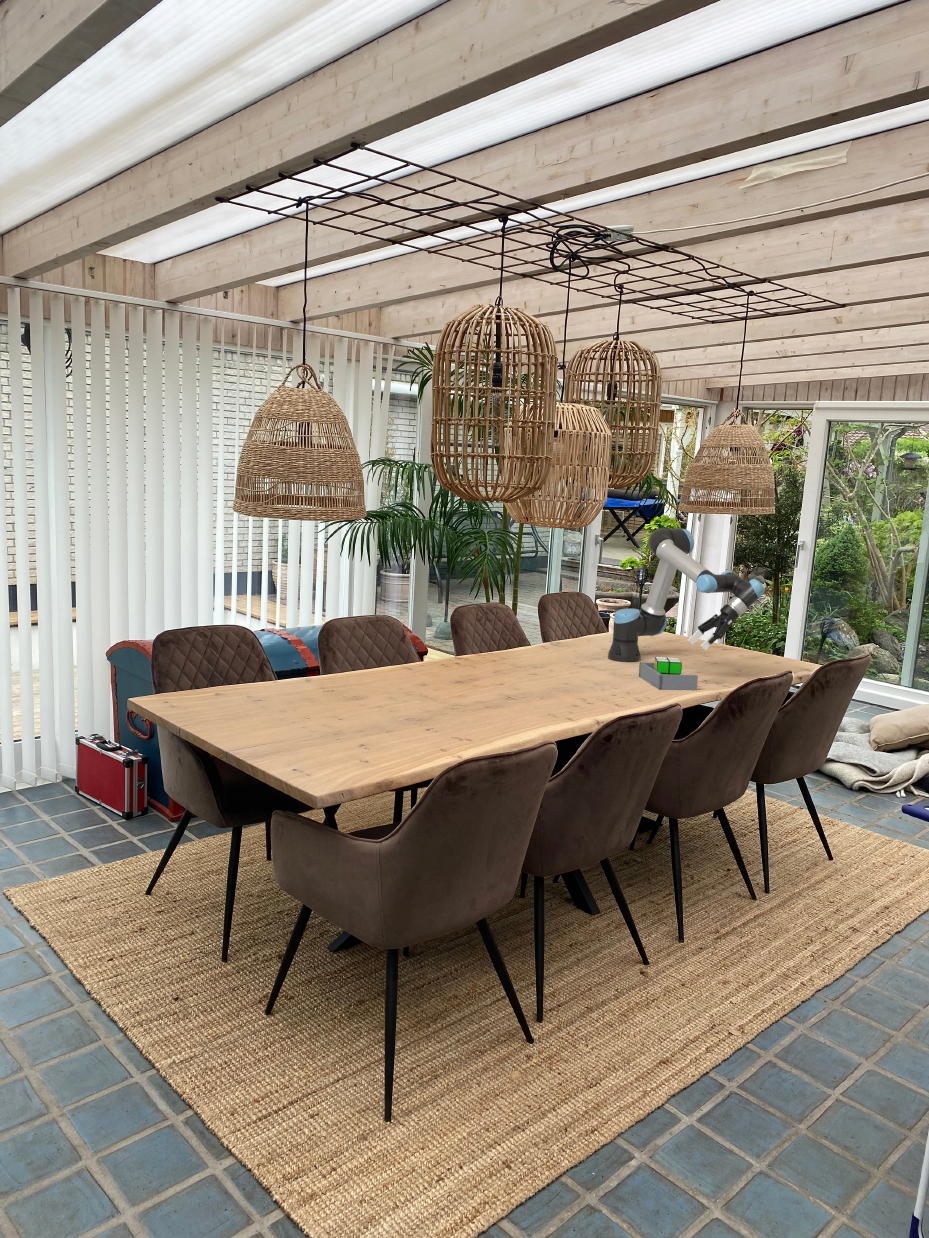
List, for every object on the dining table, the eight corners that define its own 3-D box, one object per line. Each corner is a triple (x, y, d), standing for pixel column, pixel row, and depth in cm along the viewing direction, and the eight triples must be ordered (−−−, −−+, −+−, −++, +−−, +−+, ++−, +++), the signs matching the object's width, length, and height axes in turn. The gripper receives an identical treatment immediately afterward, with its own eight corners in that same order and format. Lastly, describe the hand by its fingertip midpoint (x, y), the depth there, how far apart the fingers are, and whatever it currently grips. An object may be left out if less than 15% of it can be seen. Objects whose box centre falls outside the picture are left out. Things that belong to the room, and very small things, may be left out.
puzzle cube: (677, 681, 374) (678, 658, 373) (680, 686, 364) (682, 662, 363) (652, 680, 375) (654, 656, 374) (655, 685, 365) (657, 661, 364)
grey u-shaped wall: (638, 676, 381) (639, 662, 380) (673, 676, 383) (674, 662, 382) (659, 689, 356) (660, 675, 355) (696, 690, 358) (697, 675, 358)
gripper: (752, 620, 358) (714, 657, 358) (725, 612, 382) (689, 646, 382) (740, 607, 357) (702, 644, 356) (714, 599, 381) (678, 634, 381)
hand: (695, 645), depth 369 cm, fingers open, 13 cm apart
